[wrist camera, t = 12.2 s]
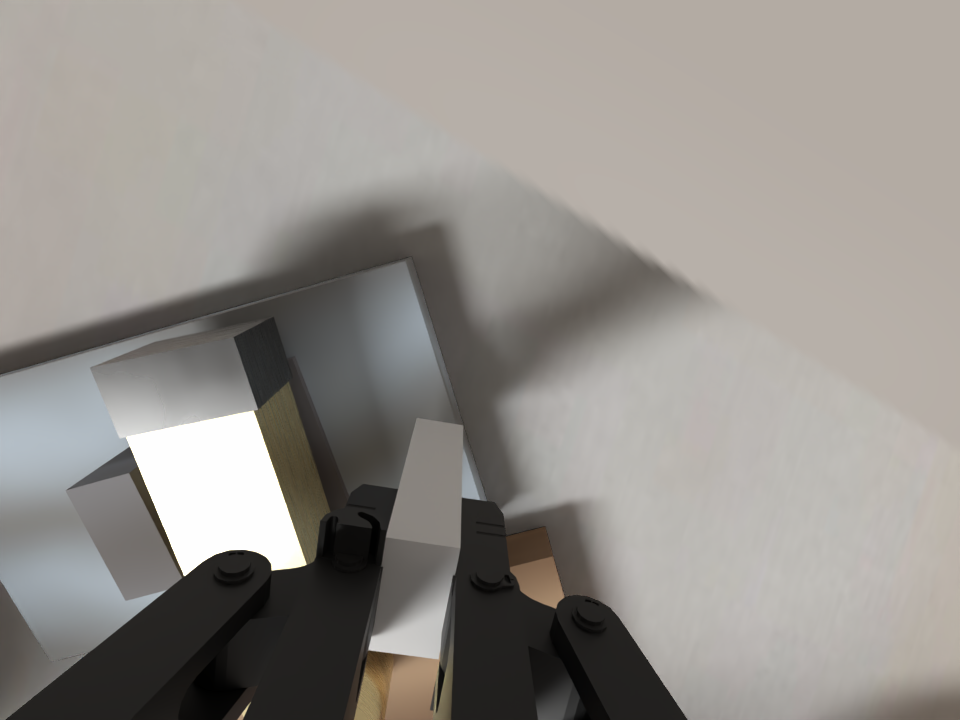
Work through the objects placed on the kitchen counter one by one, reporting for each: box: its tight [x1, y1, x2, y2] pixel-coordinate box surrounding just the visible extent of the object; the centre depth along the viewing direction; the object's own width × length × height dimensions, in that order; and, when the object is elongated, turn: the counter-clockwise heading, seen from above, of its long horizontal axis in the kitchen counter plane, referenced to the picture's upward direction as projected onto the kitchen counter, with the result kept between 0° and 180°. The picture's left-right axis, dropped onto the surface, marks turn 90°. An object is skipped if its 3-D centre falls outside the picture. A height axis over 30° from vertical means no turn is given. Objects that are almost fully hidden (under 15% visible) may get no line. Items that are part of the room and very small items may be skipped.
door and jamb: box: [0, 256, 565, 720], centre depth 20 cm, size 24×20×5 cm
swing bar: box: [90, 316, 393, 720], centre depth 17 cm, size 15×4×3 cm, turn 12°
